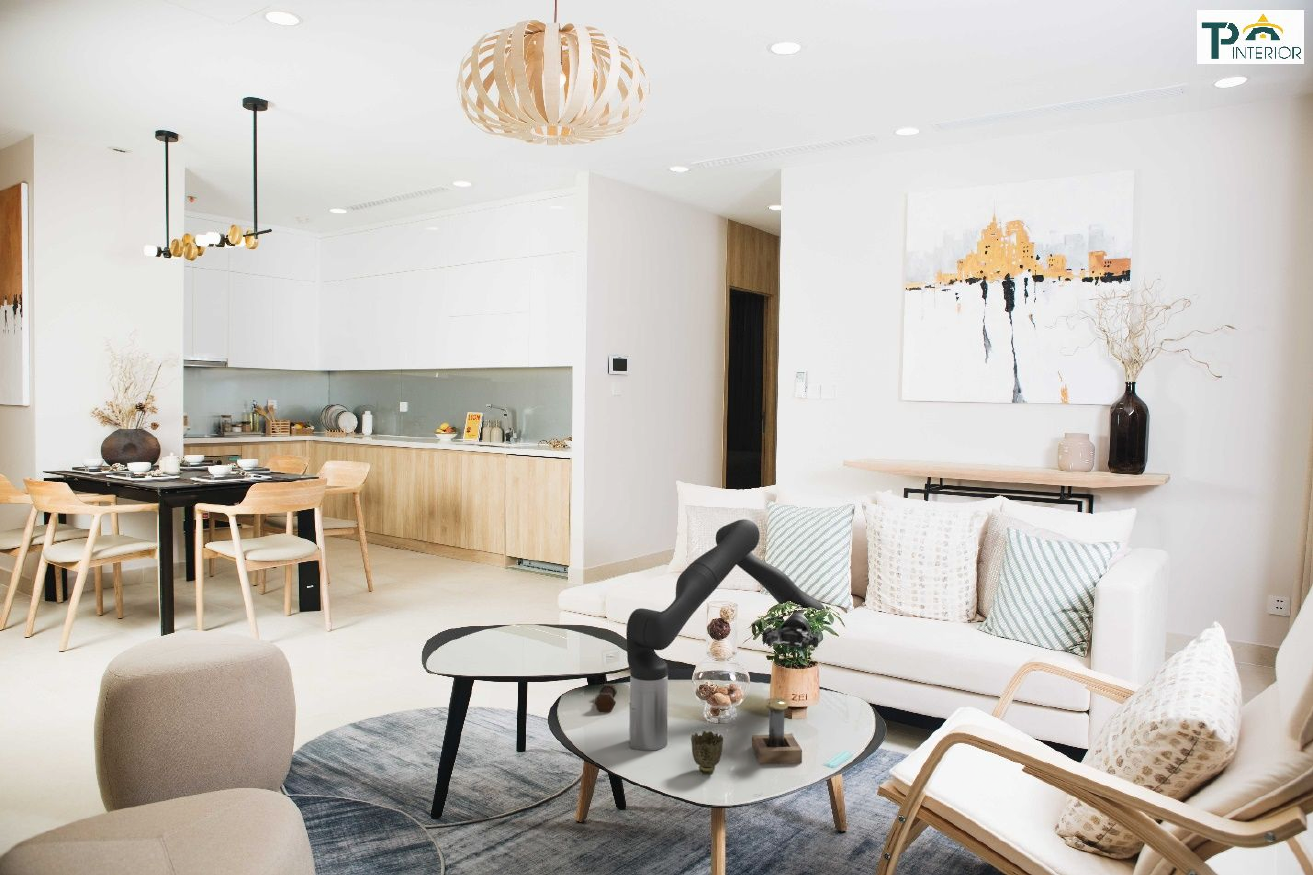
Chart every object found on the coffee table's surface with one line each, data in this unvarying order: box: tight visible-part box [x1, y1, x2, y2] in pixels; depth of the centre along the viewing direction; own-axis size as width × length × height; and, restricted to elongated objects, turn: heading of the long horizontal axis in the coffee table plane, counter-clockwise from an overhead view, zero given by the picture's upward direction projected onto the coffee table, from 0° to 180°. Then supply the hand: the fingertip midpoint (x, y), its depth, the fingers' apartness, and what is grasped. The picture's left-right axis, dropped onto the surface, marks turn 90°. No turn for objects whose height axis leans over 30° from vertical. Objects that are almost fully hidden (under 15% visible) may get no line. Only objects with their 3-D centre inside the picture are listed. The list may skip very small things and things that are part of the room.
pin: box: [765, 697, 789, 747], centre depth 212 cm, size 5×5×13 cm
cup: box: [690, 730, 724, 774], centre depth 202 cm, size 8×7×8 cm
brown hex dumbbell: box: [593, 682, 618, 713], centre depth 248 cm, size 6×5×15 cm
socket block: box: [751, 733, 803, 765], centre depth 212 cm, size 10×10×3 cm
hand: (785, 644), depth 221 cm, fingers open, 8 cm apart
